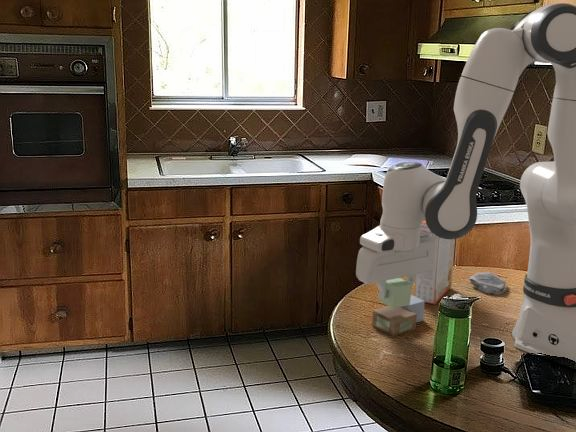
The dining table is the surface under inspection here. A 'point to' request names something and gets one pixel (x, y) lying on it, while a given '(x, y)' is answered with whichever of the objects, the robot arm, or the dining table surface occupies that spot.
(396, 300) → the sage green block
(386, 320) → the walnut slab
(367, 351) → the dining table surface
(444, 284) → the cracker box
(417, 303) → the slate blue block
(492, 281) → the fossil
